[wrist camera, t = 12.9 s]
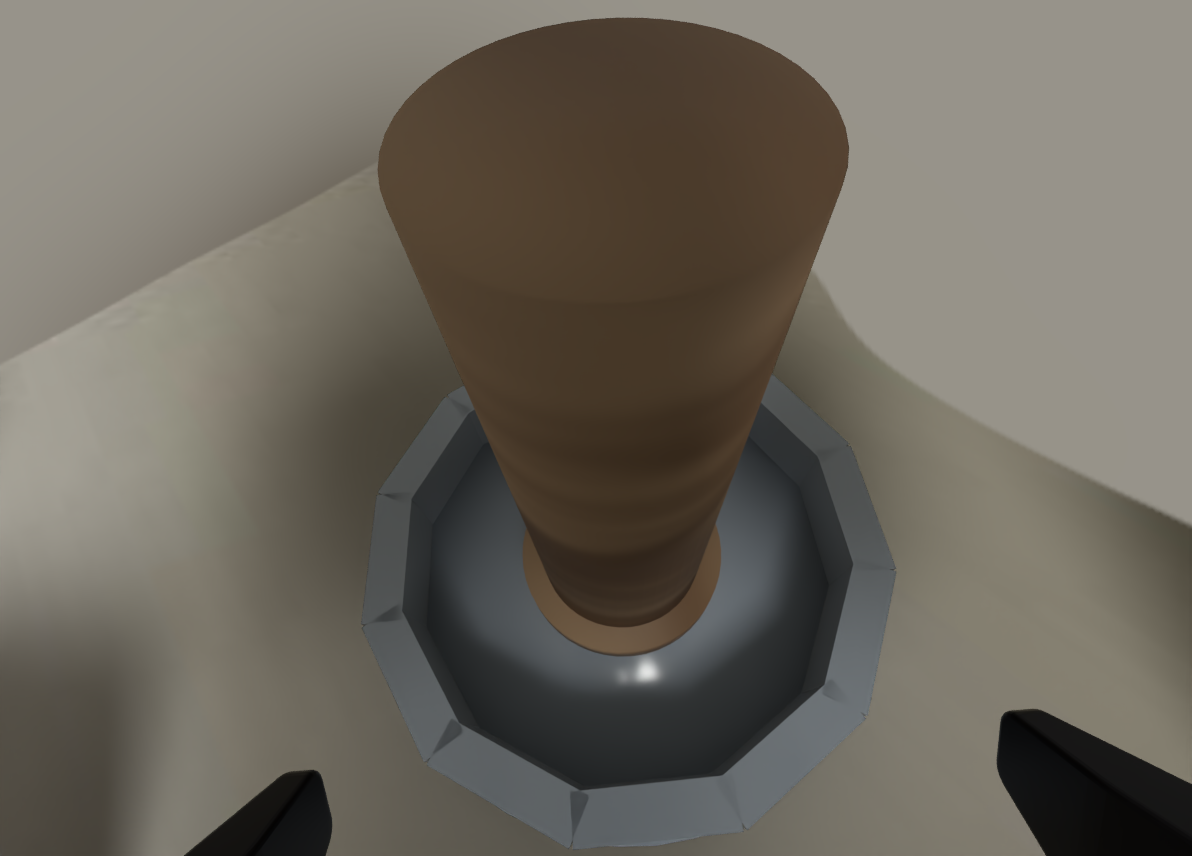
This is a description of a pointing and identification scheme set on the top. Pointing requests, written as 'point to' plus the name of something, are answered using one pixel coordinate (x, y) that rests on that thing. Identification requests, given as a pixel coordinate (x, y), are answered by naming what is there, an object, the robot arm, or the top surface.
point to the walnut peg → (616, 287)
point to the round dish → (631, 683)
